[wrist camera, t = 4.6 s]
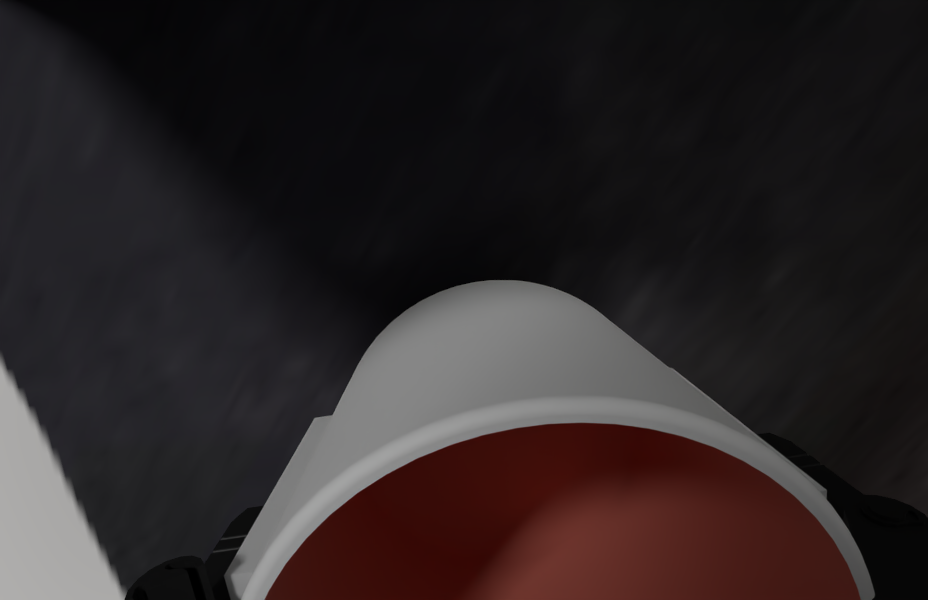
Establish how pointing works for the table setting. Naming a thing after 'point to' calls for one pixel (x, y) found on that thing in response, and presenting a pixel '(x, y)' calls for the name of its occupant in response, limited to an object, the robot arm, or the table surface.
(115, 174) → the table surface
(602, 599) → the cup
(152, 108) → the table surface
